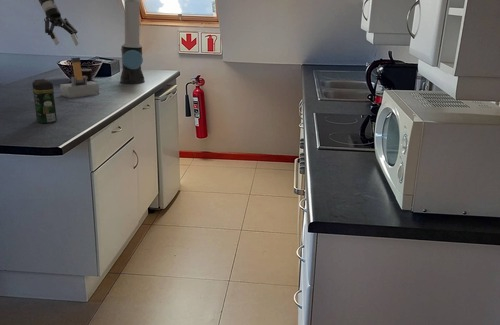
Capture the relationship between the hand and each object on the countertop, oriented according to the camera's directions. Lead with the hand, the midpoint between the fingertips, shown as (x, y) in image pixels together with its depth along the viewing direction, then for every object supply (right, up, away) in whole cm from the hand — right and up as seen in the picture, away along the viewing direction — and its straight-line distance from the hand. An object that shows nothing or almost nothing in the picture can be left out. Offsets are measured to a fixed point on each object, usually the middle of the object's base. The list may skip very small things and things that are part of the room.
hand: (67, 44), depth 272 cm
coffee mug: (0, -20, +25) cm, 32 cm away
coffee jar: (+10, -47, -52) cm, 71 cm away
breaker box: (+6, -28, +2) cm, 28 cm away
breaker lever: (+6, -22, 0) cm, 23 cm away
